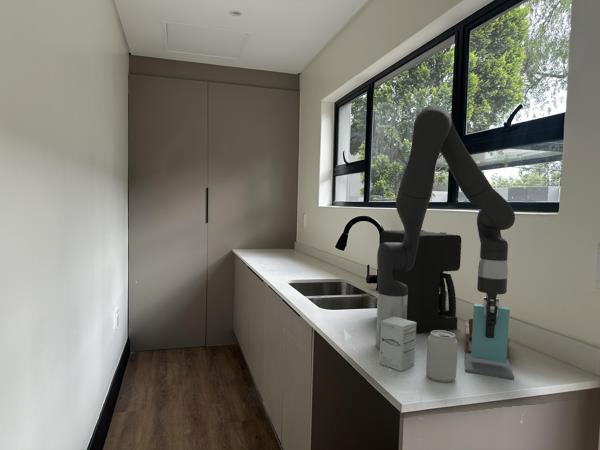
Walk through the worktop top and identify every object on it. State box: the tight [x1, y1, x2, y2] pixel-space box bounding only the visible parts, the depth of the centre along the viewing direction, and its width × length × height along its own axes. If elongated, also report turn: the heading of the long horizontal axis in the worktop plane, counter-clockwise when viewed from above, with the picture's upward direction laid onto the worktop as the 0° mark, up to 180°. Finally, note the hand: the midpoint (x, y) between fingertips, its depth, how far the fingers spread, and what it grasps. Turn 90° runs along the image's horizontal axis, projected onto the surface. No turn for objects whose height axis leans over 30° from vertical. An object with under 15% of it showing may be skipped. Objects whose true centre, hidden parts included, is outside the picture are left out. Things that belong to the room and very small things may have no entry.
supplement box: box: [378, 317, 417, 372], centre depth 118 cm, size 7×7×13 cm
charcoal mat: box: [464, 352, 515, 380], centre depth 119 cm, size 14×12×1 cm
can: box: [425, 330, 459, 383], centre depth 110 cm, size 8×8×12 cm
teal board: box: [471, 303, 510, 363], centre depth 119 cm, size 3×9×15 cm, turn 69°
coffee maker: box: [380, 229, 462, 335], centre depth 160 cm, size 28×20×35 cm
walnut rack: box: [464, 317, 510, 359], centre depth 135 cm, size 16×12×7 cm
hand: (489, 335), depth 119 cm, fingers closed on teal board, 3 cm apart
